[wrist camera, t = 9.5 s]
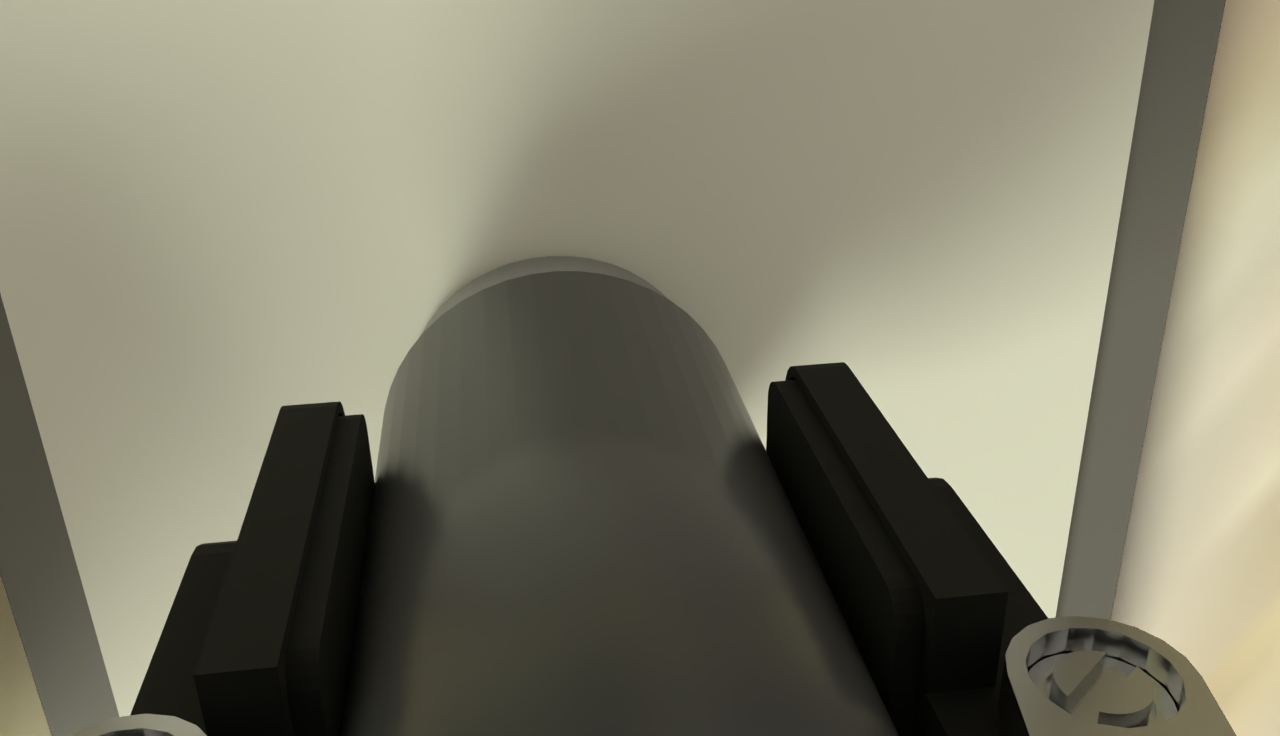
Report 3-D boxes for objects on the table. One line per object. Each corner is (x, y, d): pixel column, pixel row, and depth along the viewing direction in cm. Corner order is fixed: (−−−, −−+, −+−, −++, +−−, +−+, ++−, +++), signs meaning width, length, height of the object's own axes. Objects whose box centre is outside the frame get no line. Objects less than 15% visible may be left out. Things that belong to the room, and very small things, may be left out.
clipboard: (-317, -622, 10) (-485, -720, 8) (1275, -597, 12) (1421, -674, 10) (177, 1031, 19) (148, 1153, 18) (1022, 913, 21) (1073, 1013, 19)
